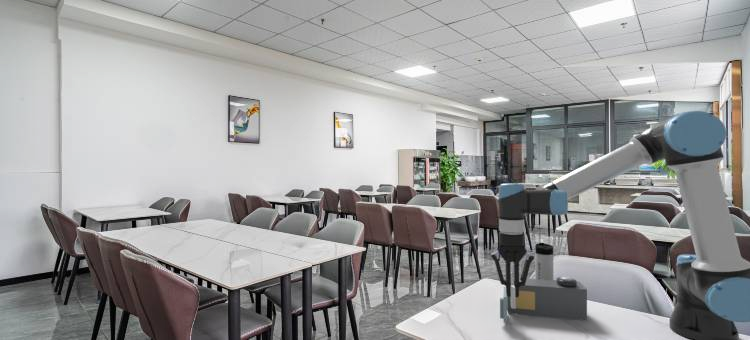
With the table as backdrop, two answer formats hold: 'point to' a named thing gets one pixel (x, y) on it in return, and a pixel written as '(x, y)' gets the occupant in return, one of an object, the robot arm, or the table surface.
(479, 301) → the table surface
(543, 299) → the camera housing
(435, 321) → the table surface
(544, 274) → the travel mug
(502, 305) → the side door
